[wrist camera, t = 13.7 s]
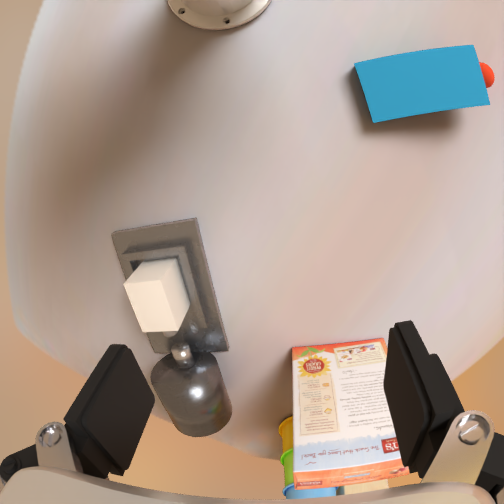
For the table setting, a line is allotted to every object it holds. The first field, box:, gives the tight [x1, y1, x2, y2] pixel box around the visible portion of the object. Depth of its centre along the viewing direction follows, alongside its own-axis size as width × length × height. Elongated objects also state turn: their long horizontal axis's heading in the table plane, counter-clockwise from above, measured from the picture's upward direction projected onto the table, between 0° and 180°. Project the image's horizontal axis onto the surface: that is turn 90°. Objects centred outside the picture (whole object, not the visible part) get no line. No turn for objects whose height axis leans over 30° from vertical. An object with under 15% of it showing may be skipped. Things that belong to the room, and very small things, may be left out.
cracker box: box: [292, 338, 410, 490], centre depth 36 cm, size 14×6×21 cm, turn 97°
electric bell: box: [111, 218, 232, 437], centre depth 41 cm, size 30×12×10 cm, turn 10°
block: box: [124, 258, 190, 337], centre depth 39 cm, size 9×5×6 cm, turn 10°
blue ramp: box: [354, 45, 494, 123], centre depth 28 cm, size 7×7×18 cm
